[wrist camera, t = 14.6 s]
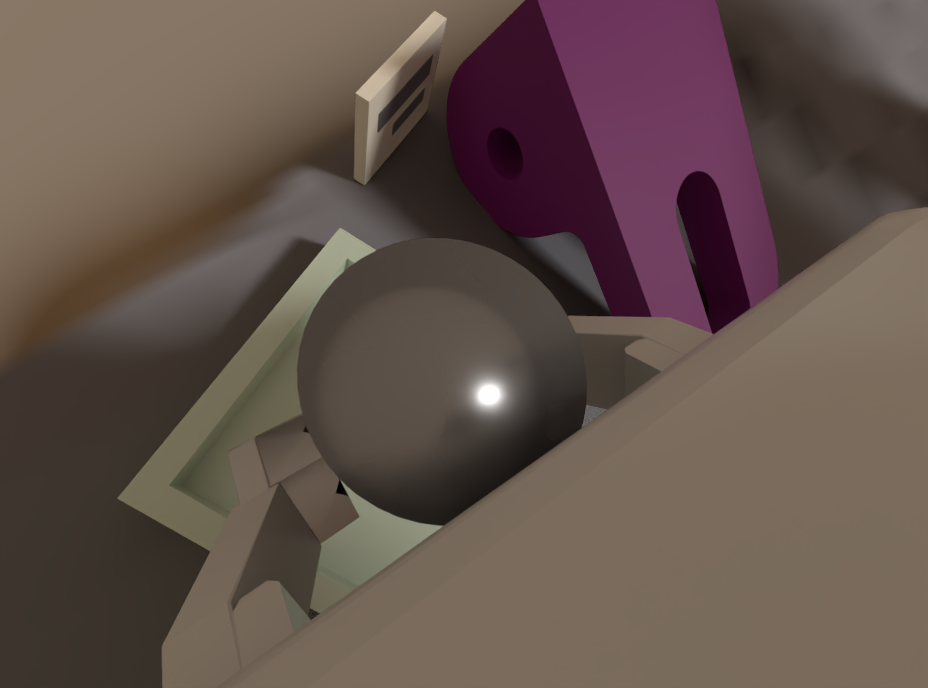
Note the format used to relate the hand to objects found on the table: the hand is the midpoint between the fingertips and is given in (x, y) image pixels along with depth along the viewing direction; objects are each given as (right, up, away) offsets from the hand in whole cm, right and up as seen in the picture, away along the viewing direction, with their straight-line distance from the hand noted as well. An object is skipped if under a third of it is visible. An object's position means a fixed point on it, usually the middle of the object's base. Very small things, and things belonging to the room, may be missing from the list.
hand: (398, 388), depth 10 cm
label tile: (-2, +11, +12) cm, 17 cm away
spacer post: (-1, -2, +4) cm, 5 cm away
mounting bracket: (+9, +6, +14) cm, 18 cm away
